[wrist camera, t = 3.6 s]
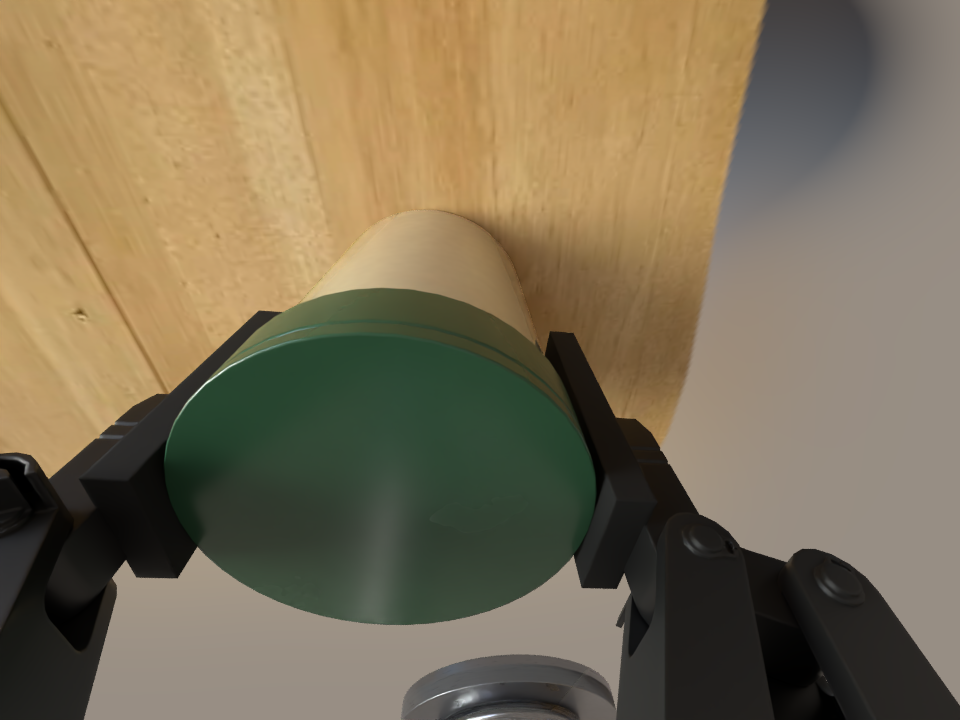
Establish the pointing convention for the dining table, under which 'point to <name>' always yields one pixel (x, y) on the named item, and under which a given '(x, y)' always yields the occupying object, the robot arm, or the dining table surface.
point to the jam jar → (433, 265)
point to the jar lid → (384, 461)
